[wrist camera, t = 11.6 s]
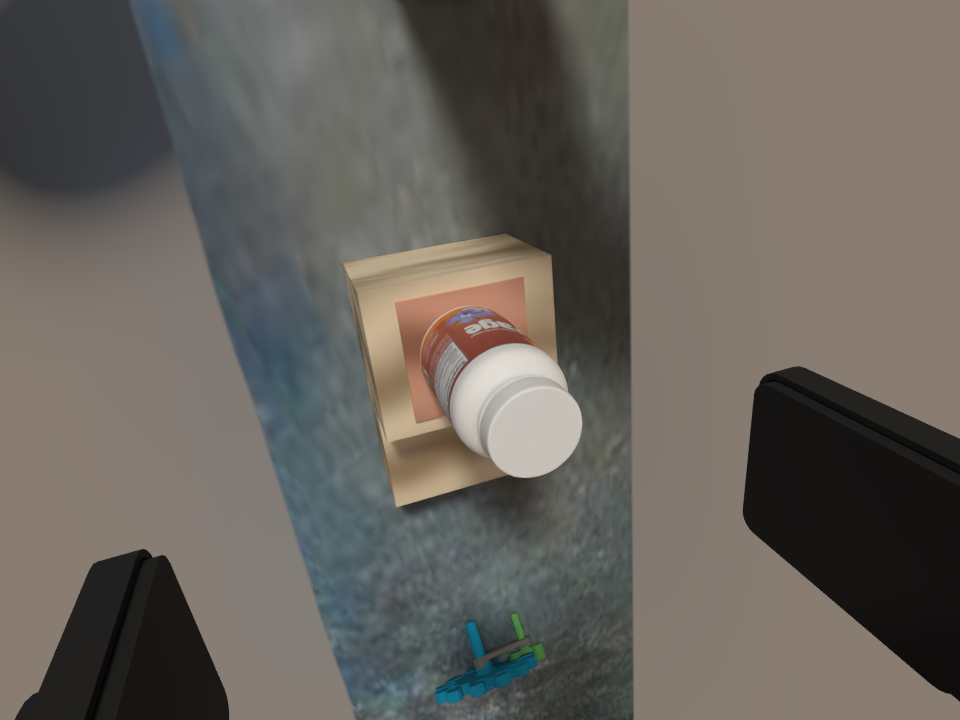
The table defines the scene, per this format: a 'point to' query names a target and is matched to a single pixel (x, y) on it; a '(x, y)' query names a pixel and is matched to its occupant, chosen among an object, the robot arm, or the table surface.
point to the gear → (492, 665)
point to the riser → (400, 331)
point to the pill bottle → (500, 391)
